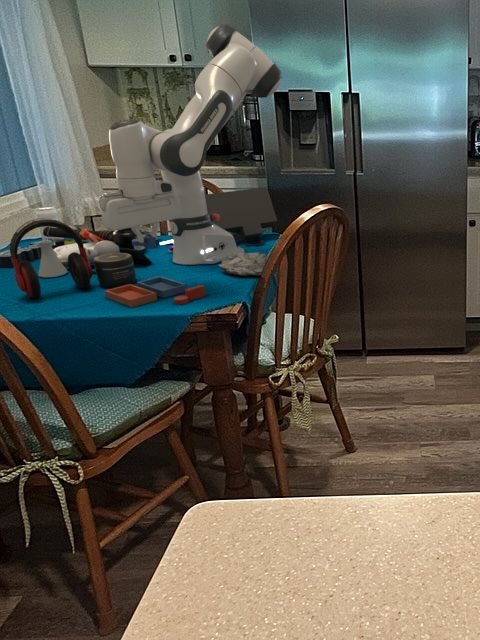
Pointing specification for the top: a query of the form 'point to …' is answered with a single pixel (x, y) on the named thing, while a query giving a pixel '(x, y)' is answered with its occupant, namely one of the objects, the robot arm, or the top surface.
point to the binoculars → (71, 249)
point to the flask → (50, 261)
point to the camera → (243, 211)
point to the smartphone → (136, 255)
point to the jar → (115, 269)
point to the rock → (244, 263)
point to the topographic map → (145, 228)
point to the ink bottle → (126, 239)
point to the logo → (28, 252)
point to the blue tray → (163, 286)
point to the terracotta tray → (131, 295)
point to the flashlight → (62, 234)
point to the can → (47, 213)
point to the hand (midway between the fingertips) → (148, 241)
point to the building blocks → (171, 249)
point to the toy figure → (89, 235)
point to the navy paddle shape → (148, 244)
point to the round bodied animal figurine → (101, 250)
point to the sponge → (73, 242)
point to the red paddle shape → (191, 294)
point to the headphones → (26, 271)
